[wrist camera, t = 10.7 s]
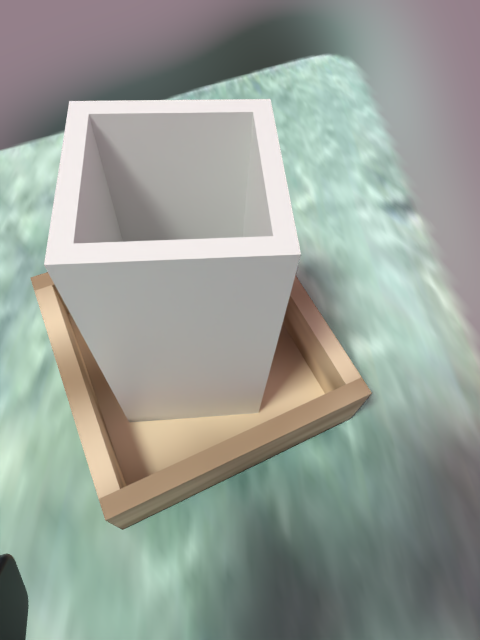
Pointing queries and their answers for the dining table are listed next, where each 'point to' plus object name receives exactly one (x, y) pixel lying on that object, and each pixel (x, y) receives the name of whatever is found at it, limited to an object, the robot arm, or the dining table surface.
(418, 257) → the dining table surface
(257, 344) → the white square vase
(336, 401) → the tray
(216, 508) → the dining table surface
